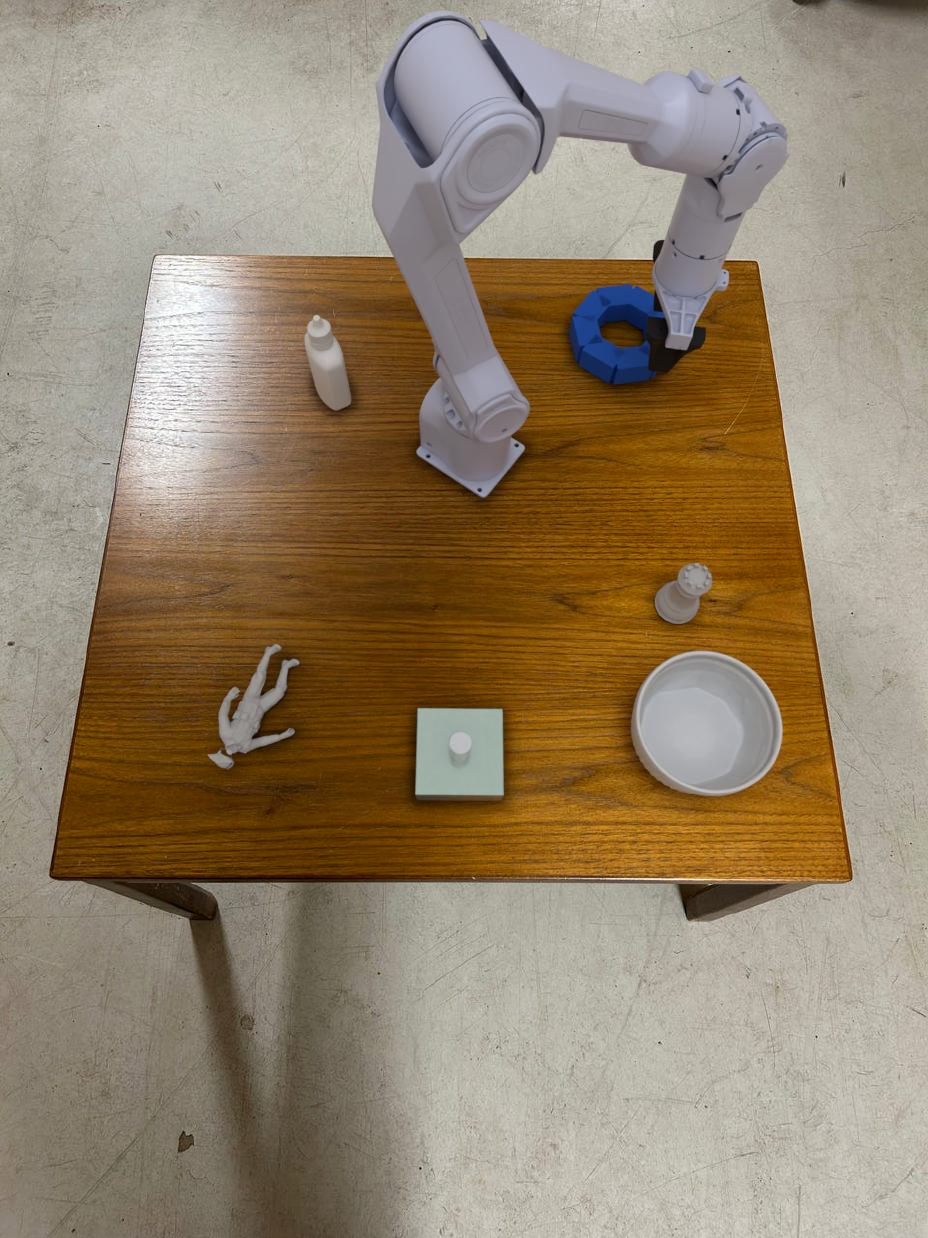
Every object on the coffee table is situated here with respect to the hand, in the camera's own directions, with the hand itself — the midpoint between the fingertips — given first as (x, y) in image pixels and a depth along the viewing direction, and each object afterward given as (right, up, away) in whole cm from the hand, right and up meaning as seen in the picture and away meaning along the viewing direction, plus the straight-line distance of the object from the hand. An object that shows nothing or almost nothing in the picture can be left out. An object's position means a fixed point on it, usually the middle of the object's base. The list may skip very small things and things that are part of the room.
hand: (660, 339), depth 81 cm
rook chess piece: (+1, -28, 0) cm, 28 cm away
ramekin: (+1, -41, -5) cm, 41 cm away
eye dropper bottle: (-35, -3, +8) cm, 37 cm away
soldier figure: (-41, -38, -5) cm, 56 cm away
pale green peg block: (-21, -43, -6) cm, 48 cm away
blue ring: (-2, +4, +11) cm, 12 cm away
